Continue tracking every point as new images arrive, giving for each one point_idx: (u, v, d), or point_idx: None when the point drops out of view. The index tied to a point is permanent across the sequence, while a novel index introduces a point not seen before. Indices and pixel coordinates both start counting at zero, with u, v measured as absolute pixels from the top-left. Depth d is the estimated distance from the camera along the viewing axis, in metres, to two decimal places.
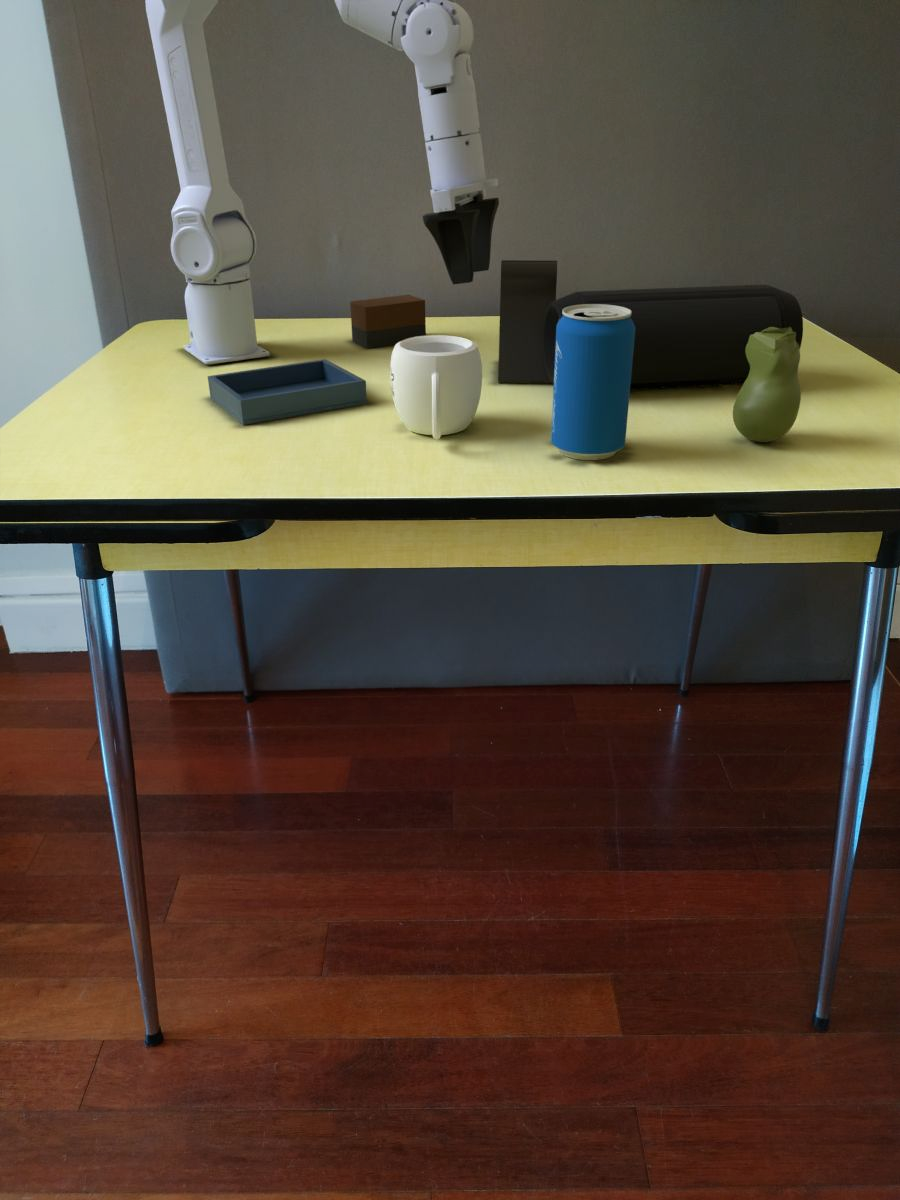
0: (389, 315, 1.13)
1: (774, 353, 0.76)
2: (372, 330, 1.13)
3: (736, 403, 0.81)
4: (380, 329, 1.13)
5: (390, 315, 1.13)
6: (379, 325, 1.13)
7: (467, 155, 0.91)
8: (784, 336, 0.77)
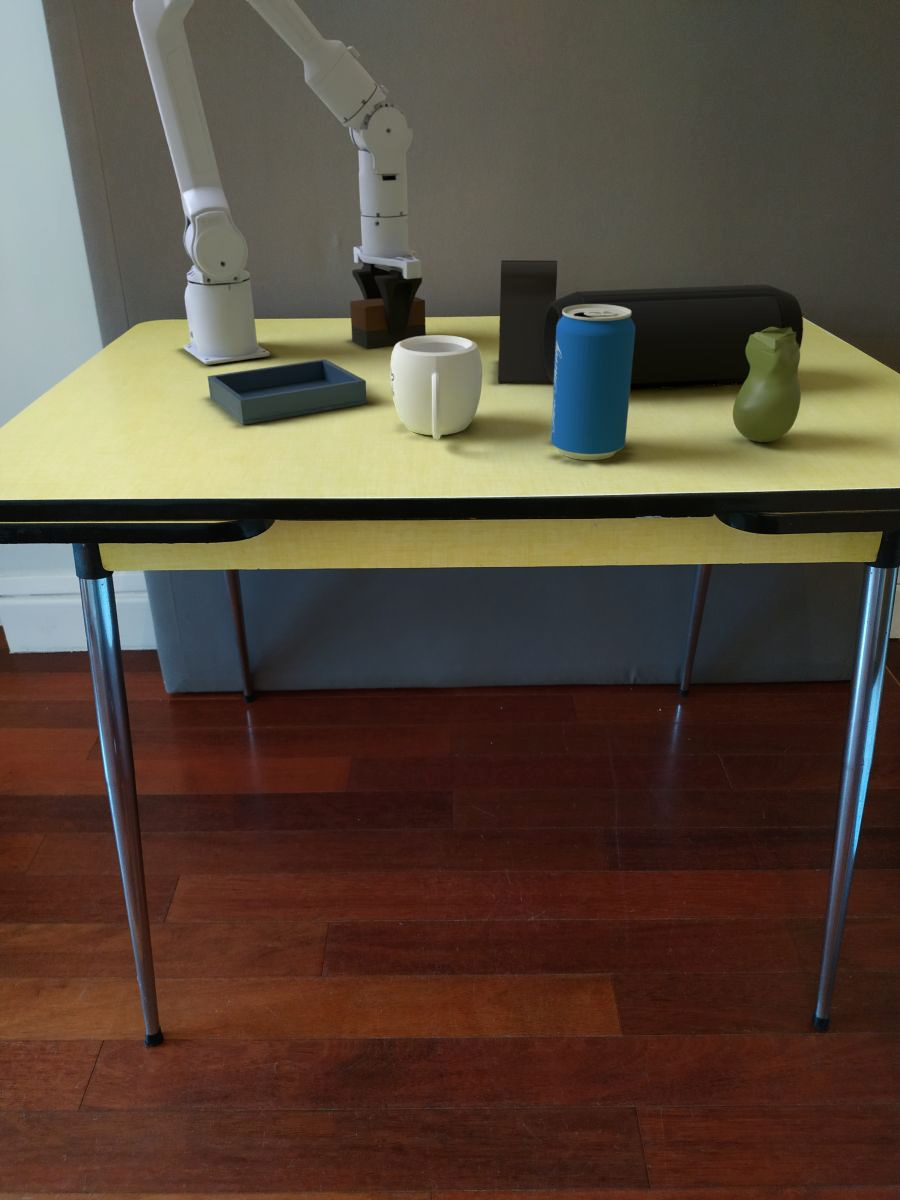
0: None
1: (774, 353, 0.76)
2: (372, 330, 1.13)
3: (736, 403, 0.81)
4: (380, 329, 1.13)
5: None
6: (379, 325, 1.13)
7: (406, 231, 1.10)
8: (784, 336, 0.77)
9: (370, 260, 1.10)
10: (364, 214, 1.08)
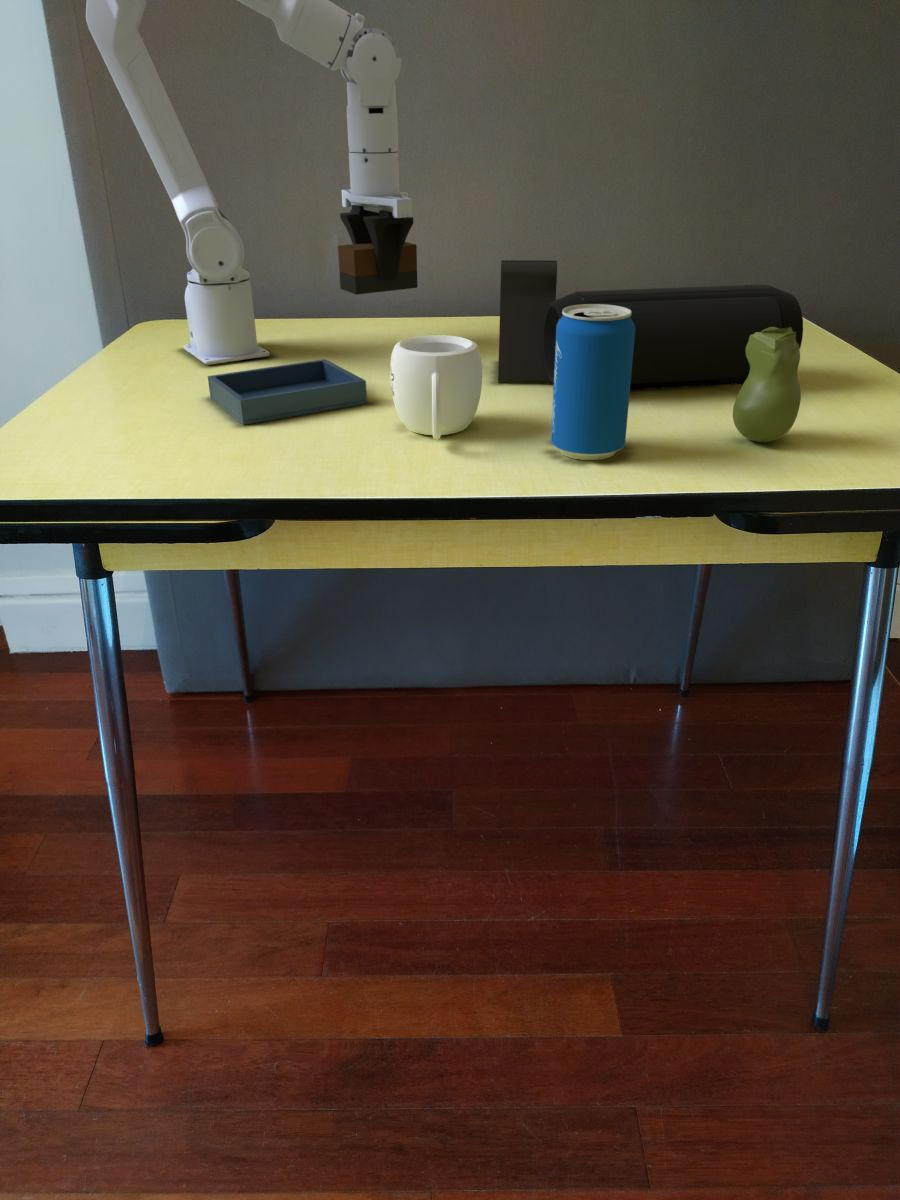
0: None
1: (774, 353, 0.76)
2: (361, 275, 1.07)
3: (736, 403, 0.81)
4: (369, 274, 1.08)
5: None
6: (368, 270, 1.07)
7: (397, 170, 1.04)
8: (784, 336, 0.77)
9: (359, 200, 1.04)
10: (351, 150, 1.03)
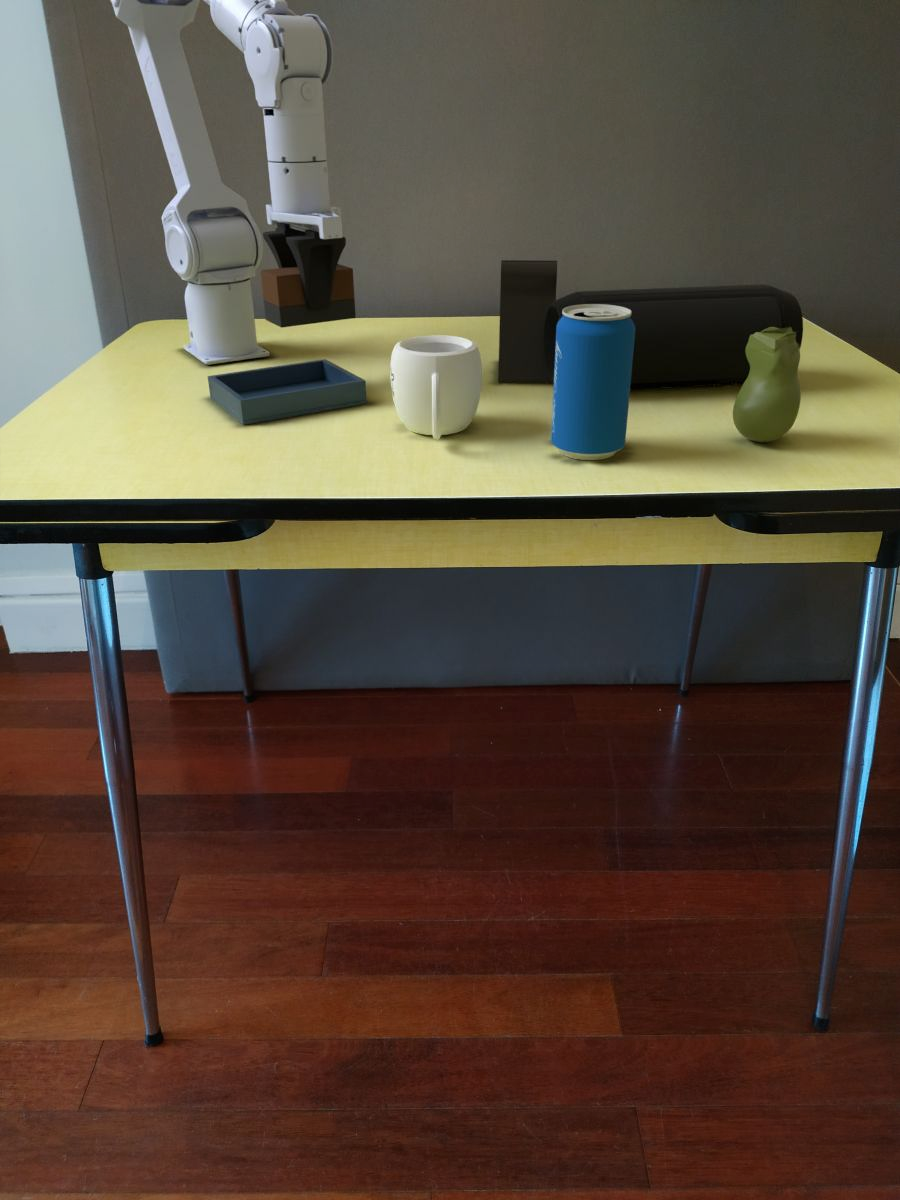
0: None
1: (774, 353, 0.76)
2: (286, 305, 0.92)
3: (736, 403, 0.81)
4: (297, 304, 0.92)
5: None
6: (295, 298, 0.92)
7: (325, 182, 0.88)
8: (784, 336, 0.77)
9: (280, 217, 0.88)
10: None
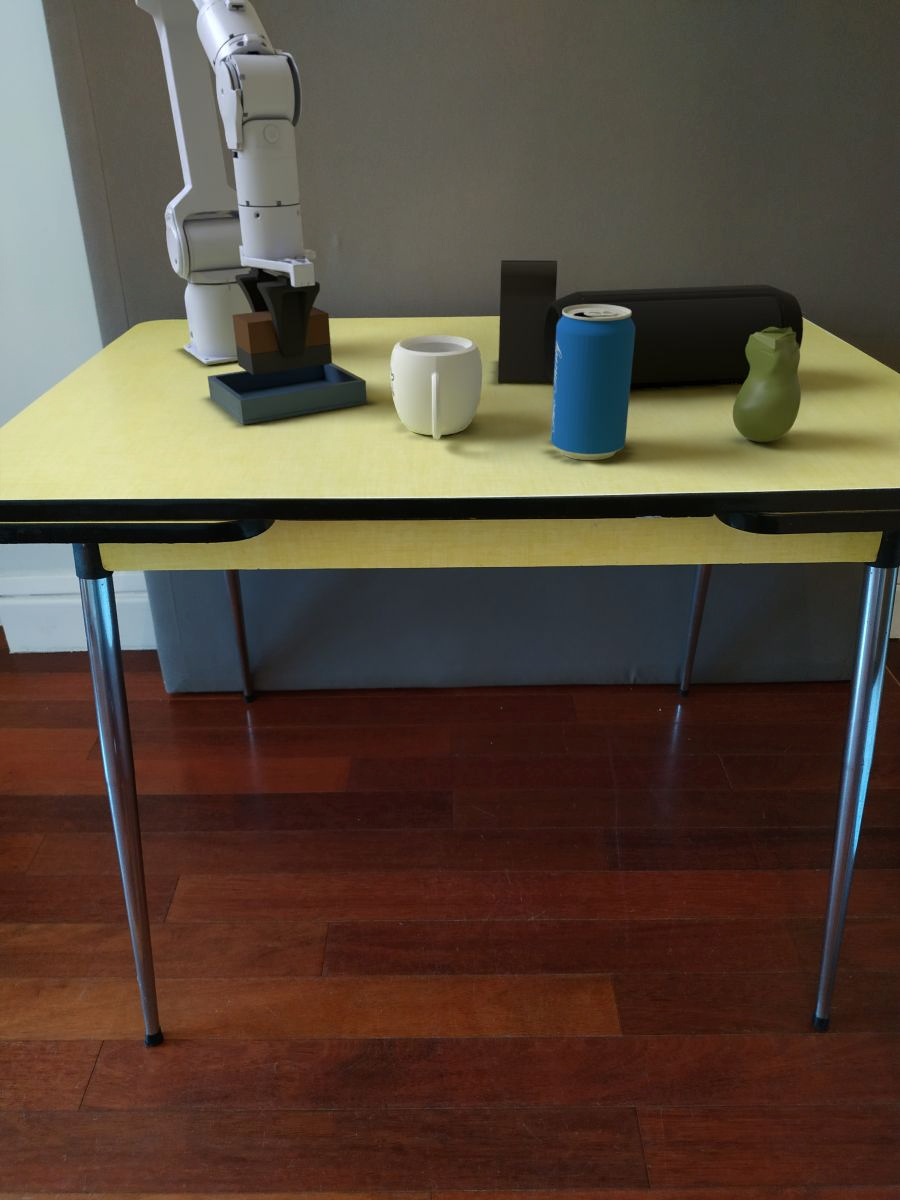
0: None
1: (774, 353, 0.76)
2: (258, 352, 0.88)
3: (736, 403, 0.81)
4: (269, 350, 0.88)
5: None
6: (267, 345, 0.88)
7: (298, 225, 0.85)
8: (784, 336, 0.77)
9: (251, 263, 0.85)
10: None
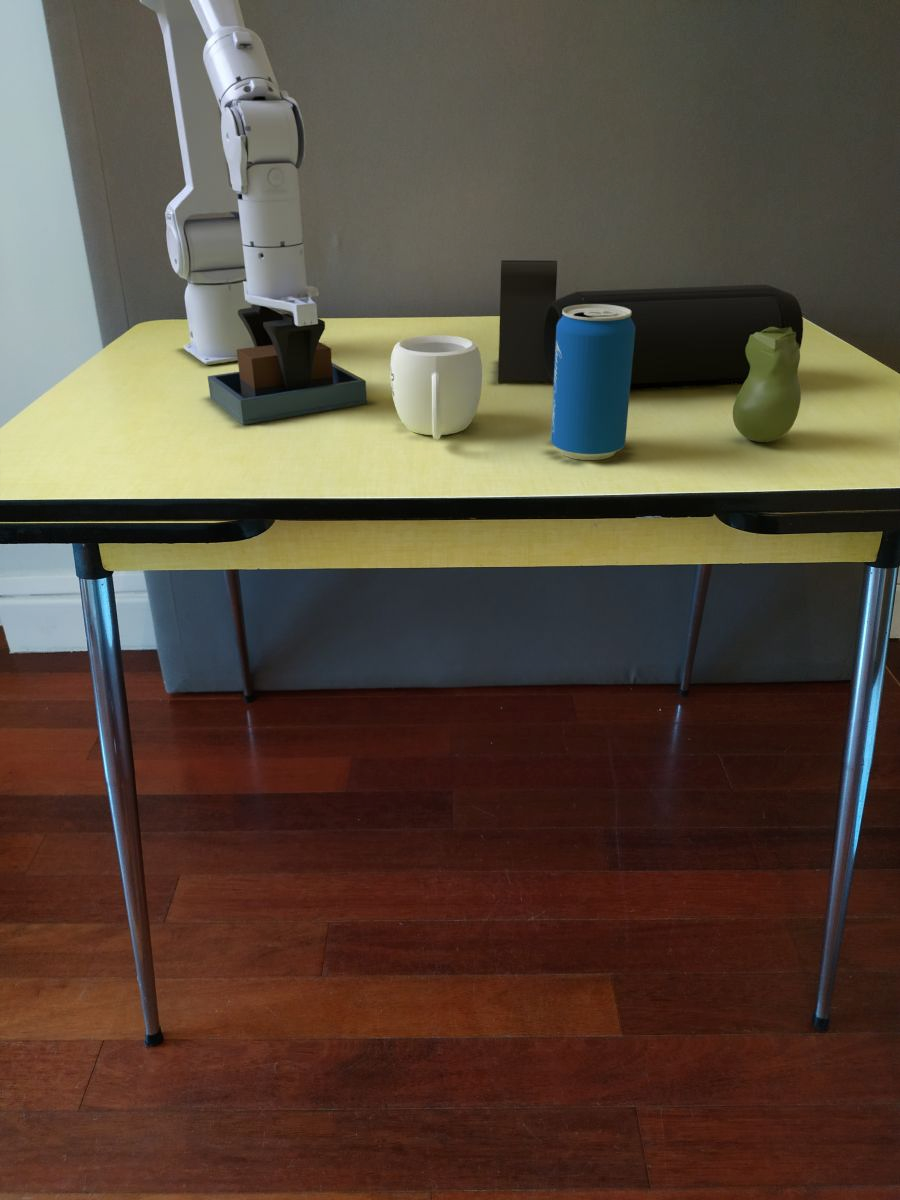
0: None
1: (774, 353, 0.76)
2: (262, 386, 0.90)
3: (736, 403, 0.81)
4: (273, 385, 0.90)
5: None
6: (271, 380, 0.90)
7: (301, 264, 0.87)
8: (784, 336, 0.77)
9: (255, 301, 0.87)
10: None
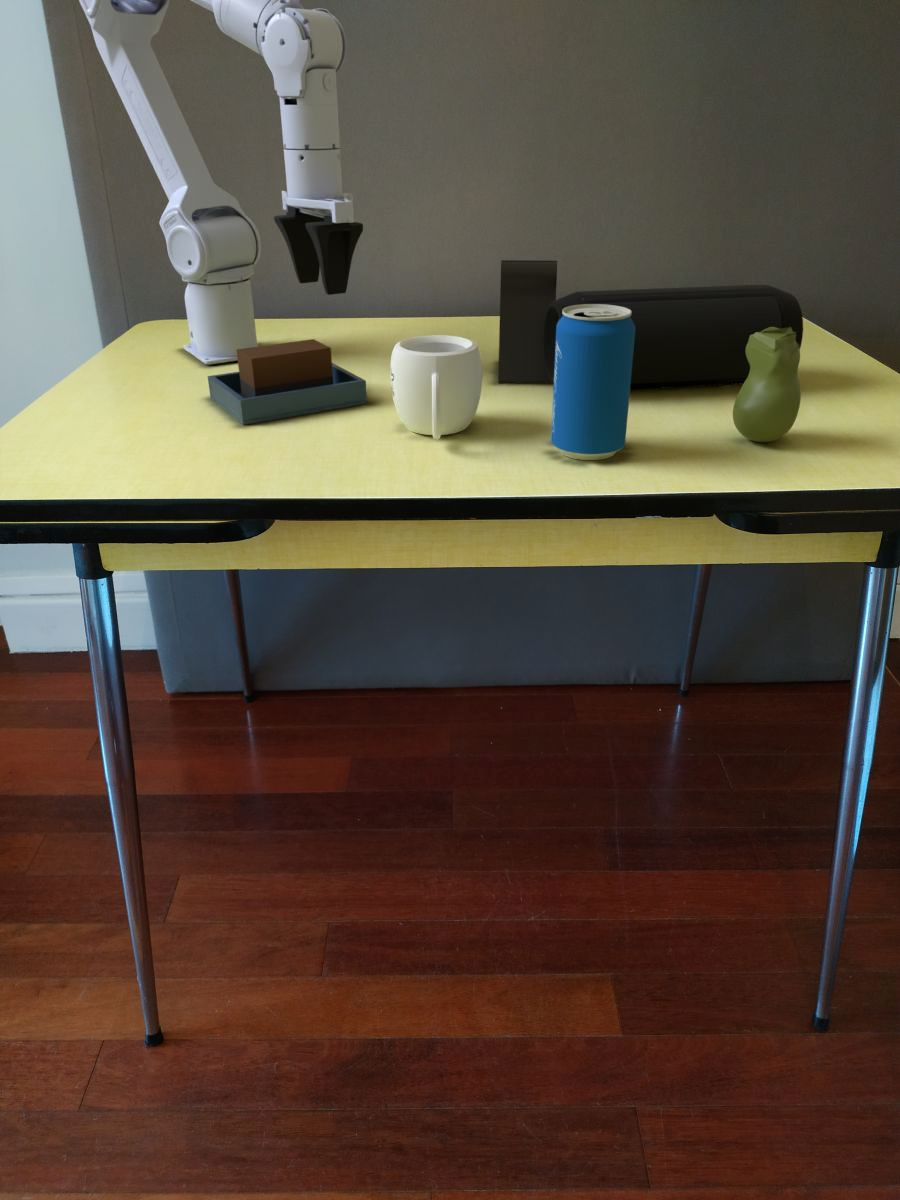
0: (284, 367, 0.90)
1: (774, 353, 0.76)
2: (262, 386, 0.90)
3: (736, 403, 0.81)
4: (273, 385, 0.90)
5: (286, 368, 0.90)
6: (271, 380, 0.90)
7: (338, 168, 0.93)
8: (784, 336, 0.77)
9: (295, 202, 0.93)
10: None
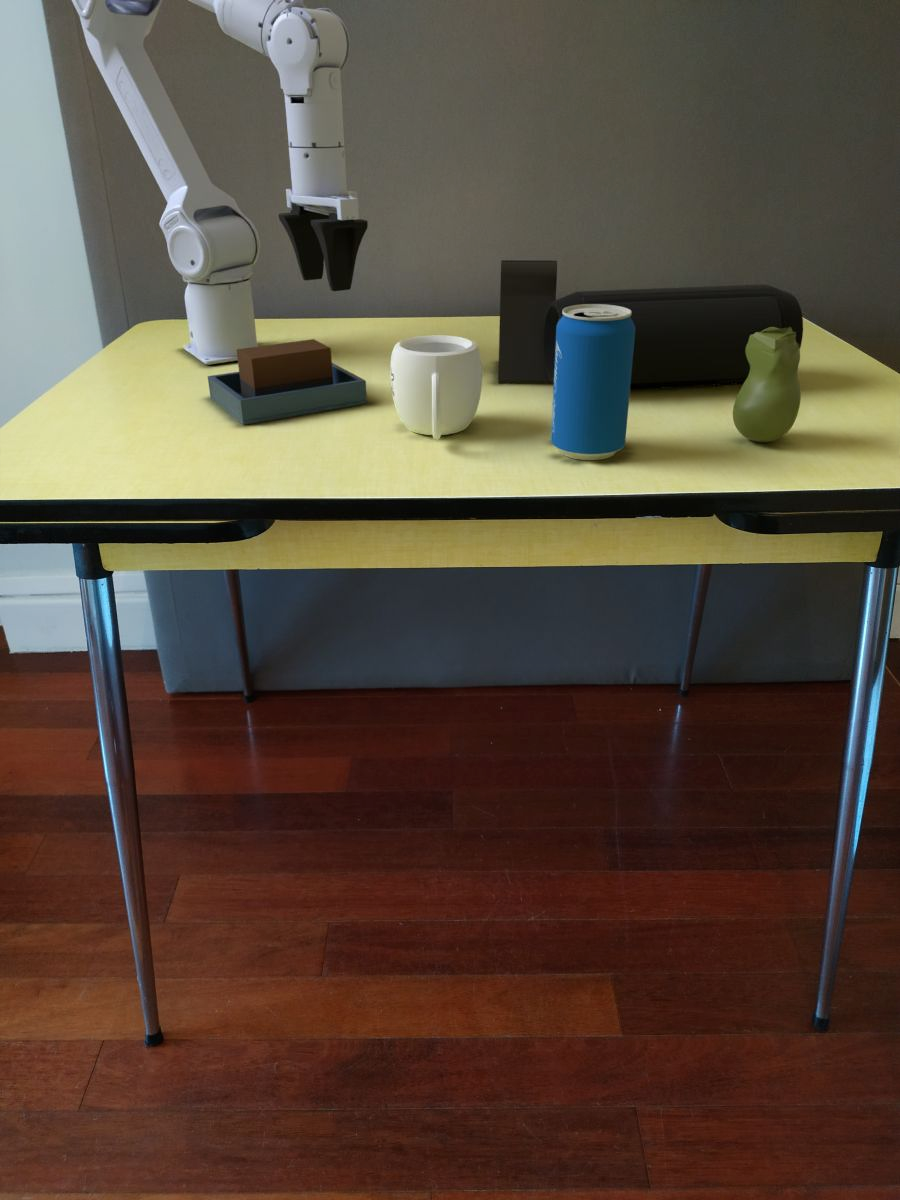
0: (284, 367, 0.90)
1: (774, 353, 0.76)
2: (262, 386, 0.90)
3: (736, 403, 0.81)
4: (273, 385, 0.90)
5: (286, 368, 0.90)
6: (271, 380, 0.90)
7: (342, 166, 0.94)
8: (784, 336, 0.77)
9: (300, 200, 0.94)
10: None
